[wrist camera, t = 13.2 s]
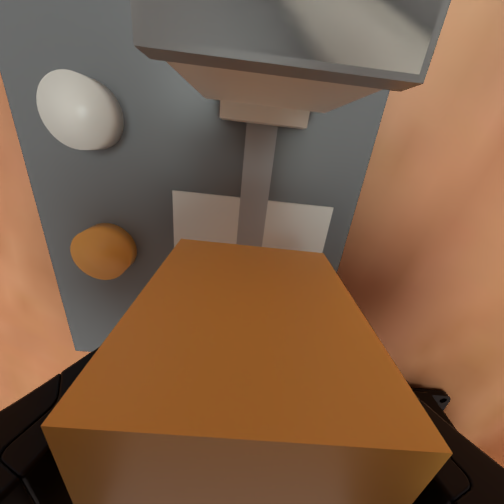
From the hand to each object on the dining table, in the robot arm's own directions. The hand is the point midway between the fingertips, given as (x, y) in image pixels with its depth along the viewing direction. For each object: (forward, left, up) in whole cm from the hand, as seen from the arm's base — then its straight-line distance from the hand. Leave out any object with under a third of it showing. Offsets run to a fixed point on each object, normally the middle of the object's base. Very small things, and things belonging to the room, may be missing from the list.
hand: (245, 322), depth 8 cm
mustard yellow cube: (0, 0, -1) cm, 1 cm away
